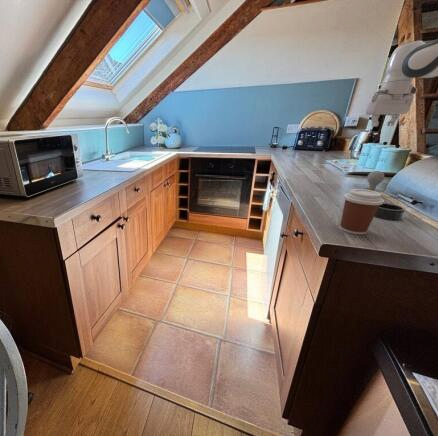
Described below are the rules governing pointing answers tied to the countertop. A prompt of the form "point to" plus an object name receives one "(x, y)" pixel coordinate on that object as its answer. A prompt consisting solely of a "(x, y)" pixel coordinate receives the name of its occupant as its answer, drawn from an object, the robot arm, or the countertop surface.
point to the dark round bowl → (389, 212)
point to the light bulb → (375, 179)
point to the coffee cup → (359, 210)
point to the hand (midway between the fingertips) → (382, 126)
